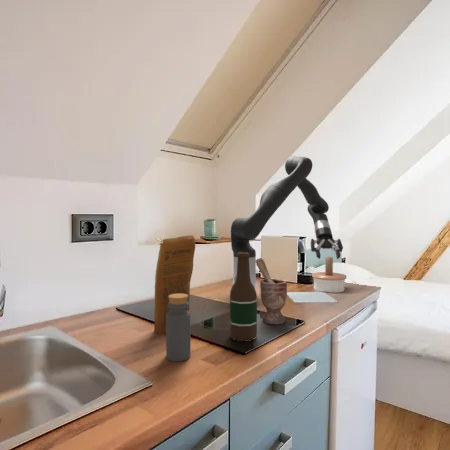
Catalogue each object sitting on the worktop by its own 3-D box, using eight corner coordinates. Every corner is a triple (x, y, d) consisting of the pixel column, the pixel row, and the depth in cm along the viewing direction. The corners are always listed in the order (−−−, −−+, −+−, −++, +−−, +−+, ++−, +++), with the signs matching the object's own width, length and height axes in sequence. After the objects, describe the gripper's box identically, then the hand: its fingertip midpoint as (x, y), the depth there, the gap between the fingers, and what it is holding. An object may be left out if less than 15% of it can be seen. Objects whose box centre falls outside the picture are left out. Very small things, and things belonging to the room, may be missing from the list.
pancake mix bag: (202, 320, 110) (202, 235, 109) (162, 338, 94) (161, 238, 93) (186, 317, 114) (186, 234, 113) (144, 334, 98) (144, 237, 97)
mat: (294, 303, 130) (294, 302, 130) (285, 293, 147) (285, 292, 147) (338, 303, 131) (338, 301, 131) (323, 293, 148) (323, 291, 148)
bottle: (191, 351, 85) (191, 292, 85) (189, 361, 79) (189, 298, 79) (168, 351, 85) (167, 292, 84) (164, 362, 79) (164, 298, 78)
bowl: (319, 293, 147) (319, 280, 147) (310, 287, 160) (310, 274, 160) (348, 293, 147) (349, 279, 147) (337, 287, 160) (337, 274, 160)
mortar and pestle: (247, 321, 109) (247, 259, 109) (258, 314, 117) (258, 256, 116) (280, 327, 103) (281, 262, 103) (290, 319, 111) (290, 259, 110)
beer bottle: (259, 334, 97) (259, 251, 97) (254, 344, 90) (254, 254, 89) (233, 331, 99) (233, 250, 99) (226, 341, 92) (226, 253, 91)
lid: (318, 280, 146) (318, 259, 145) (307, 274, 161) (308, 255, 160) (352, 280, 146) (352, 259, 146) (338, 274, 161) (338, 255, 161)
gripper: (309, 226, 163) (314, 252, 152) (339, 226, 162) (346, 252, 151) (307, 236, 169) (312, 262, 158) (336, 236, 168) (342, 262, 157)
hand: (328, 257), depth 154 cm, fingers open, 8 cm apart
